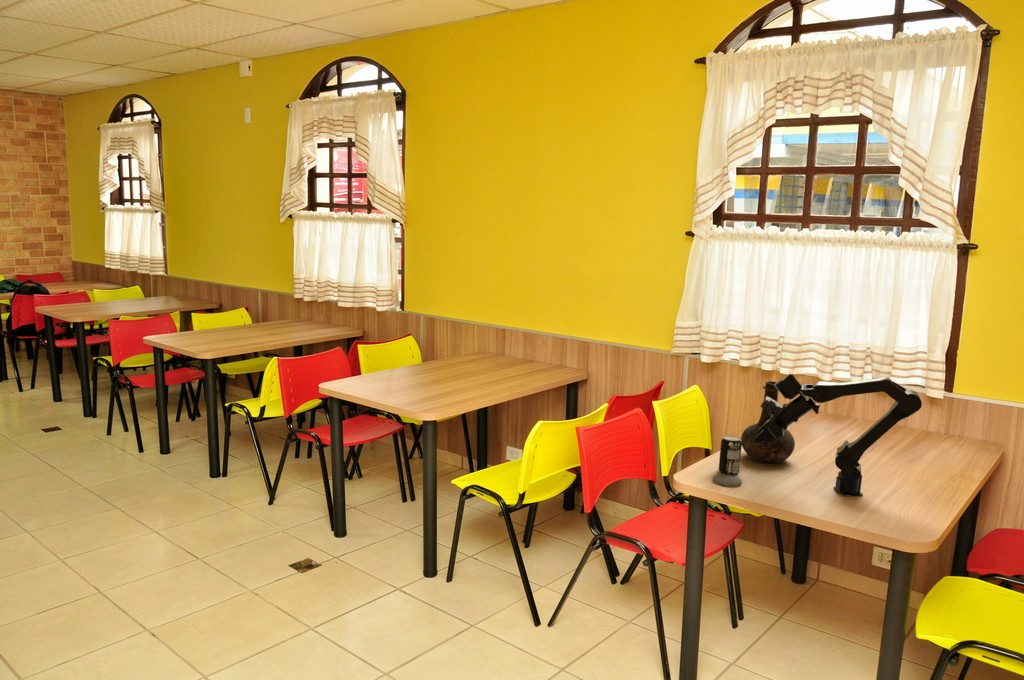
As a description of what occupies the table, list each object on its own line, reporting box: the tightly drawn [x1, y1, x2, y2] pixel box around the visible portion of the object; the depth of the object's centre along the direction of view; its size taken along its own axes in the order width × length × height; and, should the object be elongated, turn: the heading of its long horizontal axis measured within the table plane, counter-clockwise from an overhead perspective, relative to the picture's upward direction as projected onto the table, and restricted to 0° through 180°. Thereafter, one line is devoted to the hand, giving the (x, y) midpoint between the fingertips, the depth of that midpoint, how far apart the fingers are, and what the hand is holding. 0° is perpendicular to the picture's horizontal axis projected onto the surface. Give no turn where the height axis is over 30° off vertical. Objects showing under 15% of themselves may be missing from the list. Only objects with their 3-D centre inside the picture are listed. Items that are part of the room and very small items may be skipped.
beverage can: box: [718, 434, 742, 476], centre depth 256 cm, size 7×7×12 cm
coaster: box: [712, 474, 743, 487], centre depth 247 cm, size 9×9×1 cm
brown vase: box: [740, 380, 796, 464], centre depth 270 cm, size 18×18×28 cm
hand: (755, 437), depth 251 cm, fingers open, 9 cm apart
